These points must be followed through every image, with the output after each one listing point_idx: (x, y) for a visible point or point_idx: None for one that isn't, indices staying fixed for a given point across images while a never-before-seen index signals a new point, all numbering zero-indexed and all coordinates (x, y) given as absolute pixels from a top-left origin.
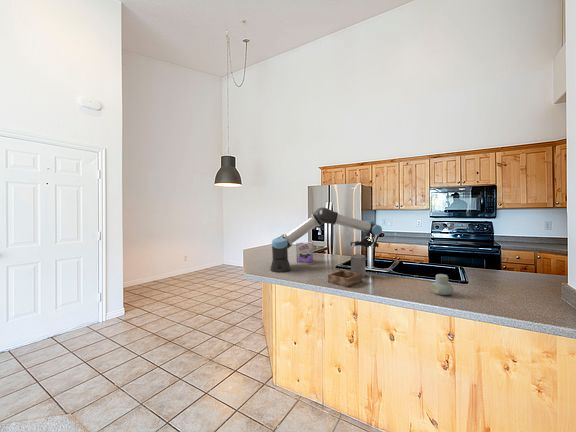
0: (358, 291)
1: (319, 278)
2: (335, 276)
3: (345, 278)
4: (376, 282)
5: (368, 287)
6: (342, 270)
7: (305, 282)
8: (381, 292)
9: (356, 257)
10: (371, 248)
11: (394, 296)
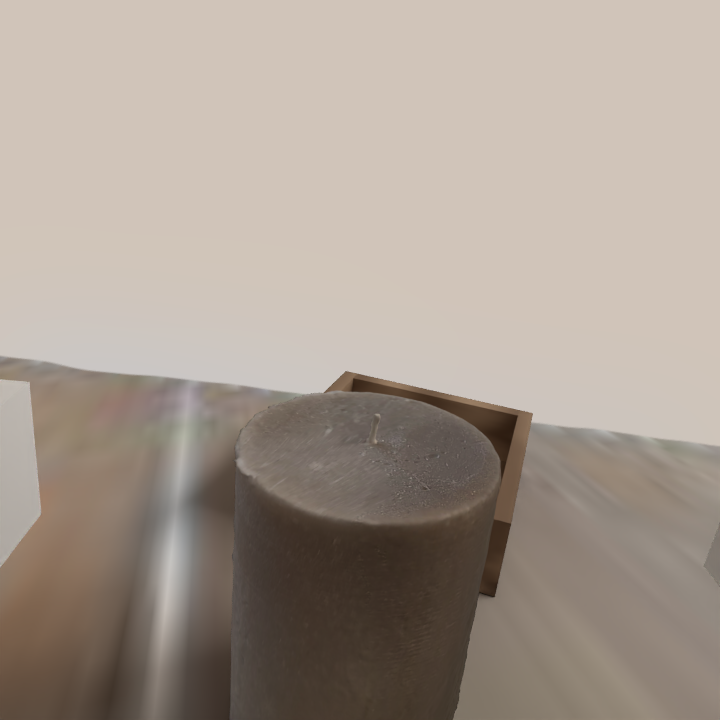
0: (261, 397)
1: (656, 526)
2: (455, 396)
3: (366, 377)
4: (108, 538)
5: (197, 444)
6: (496, 509)
7: (652, 448)
8: (115, 402)
9: (364, 393)
10: (30, 505)
11: (48, 377)
